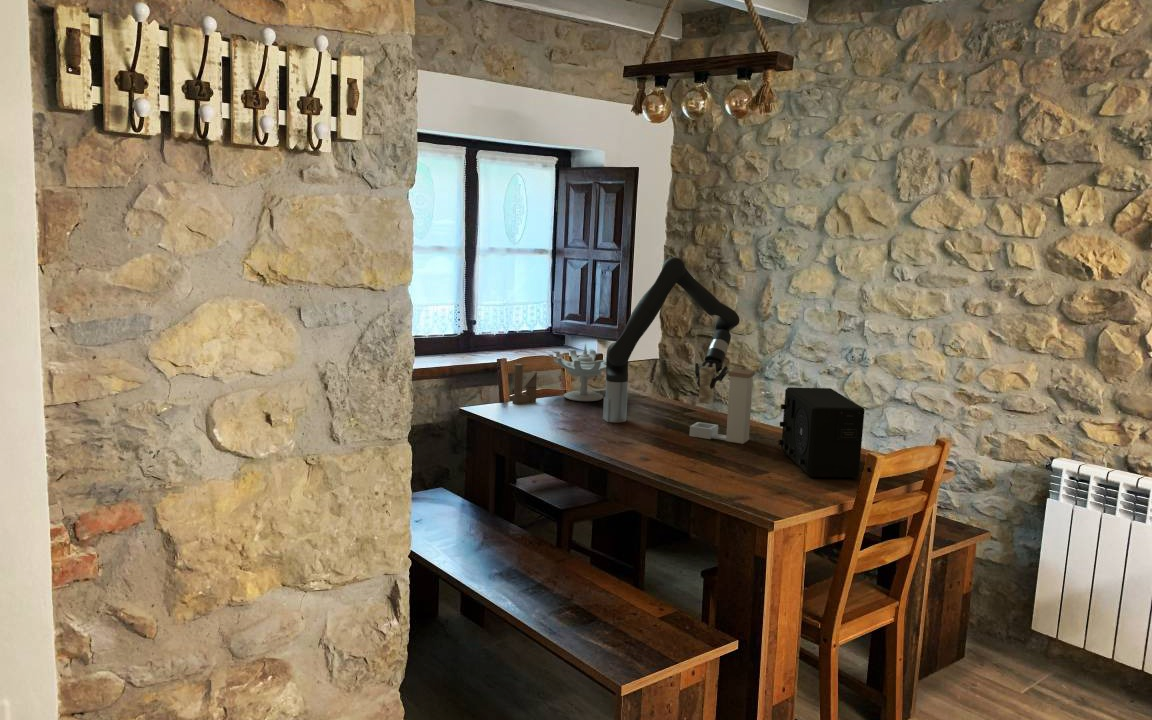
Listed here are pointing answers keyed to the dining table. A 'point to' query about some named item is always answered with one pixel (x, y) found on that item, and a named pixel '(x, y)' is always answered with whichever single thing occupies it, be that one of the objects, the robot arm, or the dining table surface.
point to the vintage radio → (822, 432)
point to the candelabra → (582, 372)
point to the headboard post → (732, 411)
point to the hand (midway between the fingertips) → (705, 386)
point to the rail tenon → (706, 385)
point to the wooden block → (524, 386)
